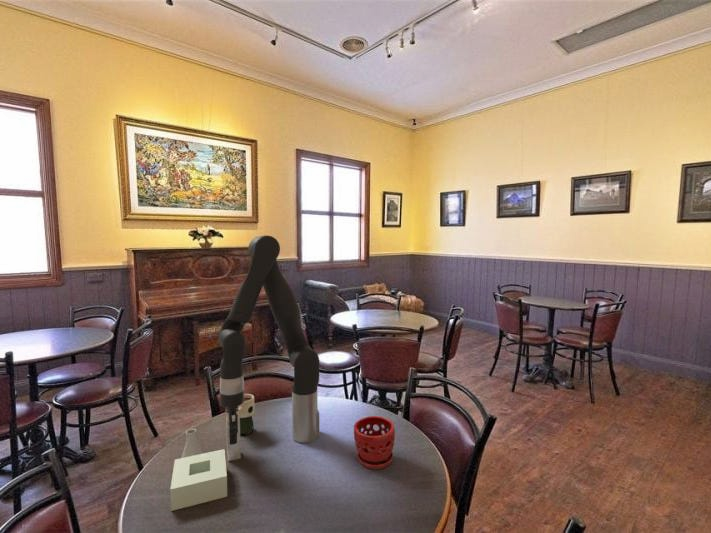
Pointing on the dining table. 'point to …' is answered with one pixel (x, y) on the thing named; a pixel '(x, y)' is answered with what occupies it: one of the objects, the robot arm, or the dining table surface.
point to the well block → (198, 479)
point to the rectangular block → (234, 449)
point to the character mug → (246, 414)
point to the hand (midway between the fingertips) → (232, 437)
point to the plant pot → (374, 442)
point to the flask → (191, 444)
